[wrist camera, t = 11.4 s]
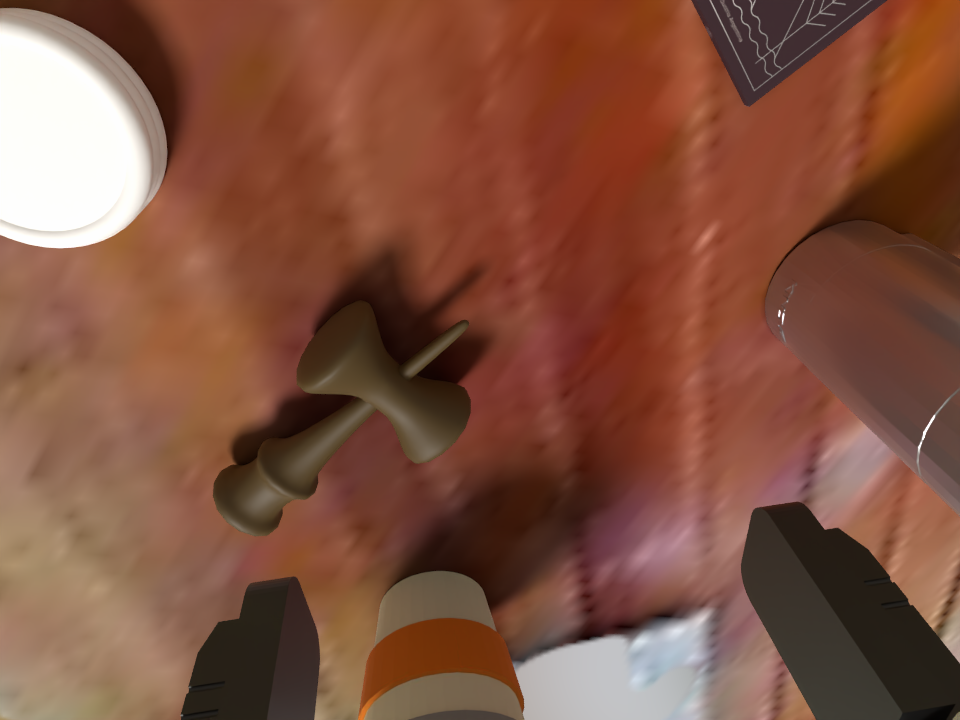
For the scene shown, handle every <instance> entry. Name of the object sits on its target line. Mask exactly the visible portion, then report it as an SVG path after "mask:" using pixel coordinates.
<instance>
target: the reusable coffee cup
mask: <svg viewBox="0 0 960 720" xmlns="http://www.w3.org/2000/svg"><path fill="white" fill-rule="evenodd" d="M523 710H524V698H523V695H522V692H521V689H520V686H519V683H518V680H517V677H516V673H515V670H514V667H513V664H512V661H511V658H510V655H509V652H508V649H507V646H506V644H505V641H504V639H503V638H502V637H501V636H500V635H499V633H498V632H496V628H495V625H494V622H493V619H492V616H491V613H490V609H489V606H488V603H487V600H486V597H485V594H484V592H483V589H482V588H481V587H480V585H479V584H478V583H477V582H475V581H474V580H473V579H471V578H469V577H467V576H465V575H463V574H459V573H455V572H448V571H431V572H425V573H420V574H417V575H413V576H410V577H408V578H406V579H404V580H402V581H400V582H398V583H397V584H395V585H394V586H393V587H392V588H391V589H390V590H388V591H387V593H386V594H385V596H384V597H383V599H382V602H381V604H380V611H379V618H378V625H377V632H376V639H375V646H374V649H373V650H372V651H371V653H370V655H369V657H368V660H367V663H366V670H365V677H364V683H363V690H362V697H361V703H360V710H359V717H358V720H524V717H523V714H522V713H523Z"/></svg>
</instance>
